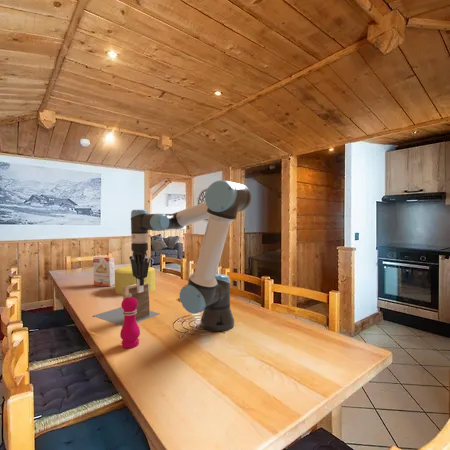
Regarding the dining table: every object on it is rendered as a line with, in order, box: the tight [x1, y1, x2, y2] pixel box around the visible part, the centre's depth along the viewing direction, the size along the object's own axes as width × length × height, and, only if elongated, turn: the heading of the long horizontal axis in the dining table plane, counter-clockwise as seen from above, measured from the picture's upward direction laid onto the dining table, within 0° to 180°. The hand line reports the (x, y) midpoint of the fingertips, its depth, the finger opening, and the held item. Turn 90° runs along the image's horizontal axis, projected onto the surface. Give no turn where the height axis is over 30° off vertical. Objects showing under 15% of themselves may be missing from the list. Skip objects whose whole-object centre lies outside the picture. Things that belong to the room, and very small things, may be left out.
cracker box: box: [92, 255, 116, 288], centre depth 208 cm, size 14×6×21 cm, turn 73°
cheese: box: [114, 265, 156, 296], centre depth 196 cm, size 26×26×15 cm
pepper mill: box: [119, 293, 141, 349], centre depth 110 cm, size 7×7×20 cm
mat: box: [92, 306, 161, 327], centre depth 144 cm, size 26×21×1 cm
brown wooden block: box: [122, 283, 151, 320], centre depth 138 cm, size 4×12×16 cm, turn 144°
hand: (140, 292), depth 136 cm, fingers closed
